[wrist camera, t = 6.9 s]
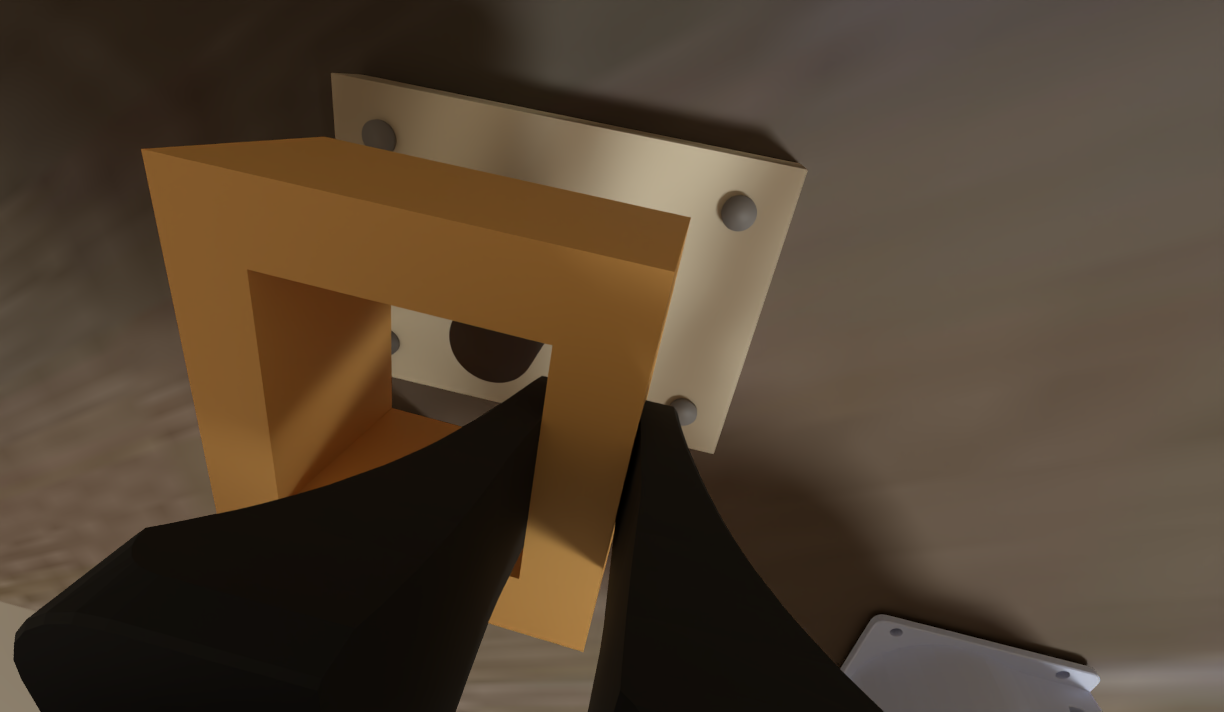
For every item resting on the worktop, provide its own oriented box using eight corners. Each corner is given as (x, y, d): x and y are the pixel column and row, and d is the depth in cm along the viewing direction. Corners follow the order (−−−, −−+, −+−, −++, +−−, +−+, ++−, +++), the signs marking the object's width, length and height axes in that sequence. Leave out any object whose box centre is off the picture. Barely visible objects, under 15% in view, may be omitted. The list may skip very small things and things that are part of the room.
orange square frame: (691, 217, 11) (674, 271, 7) (618, 515, 14) (582, 651, 11) (324, 136, 11) (141, 149, 8) (342, 439, 15) (223, 542, 11)
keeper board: (799, 163, 16) (847, 200, 10) (713, 430, 21) (715, 553, 15) (360, 74, 17) (192, 65, 11) (372, 349, 21) (257, 438, 16)
